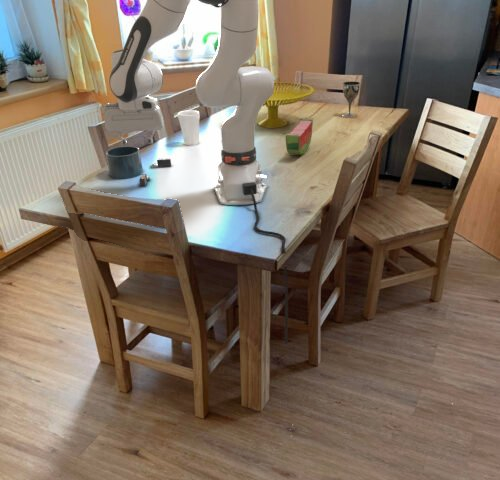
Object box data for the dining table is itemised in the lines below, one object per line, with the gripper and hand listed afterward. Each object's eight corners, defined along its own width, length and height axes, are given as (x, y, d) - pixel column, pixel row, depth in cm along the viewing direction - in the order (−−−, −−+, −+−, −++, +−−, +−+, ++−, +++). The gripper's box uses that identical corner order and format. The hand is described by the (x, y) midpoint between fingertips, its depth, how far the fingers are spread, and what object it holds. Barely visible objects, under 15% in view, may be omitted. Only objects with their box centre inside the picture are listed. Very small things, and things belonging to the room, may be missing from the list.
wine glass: (338, 115, 262) (340, 82, 253) (351, 112, 264) (353, 80, 255) (346, 118, 256) (349, 85, 247) (360, 116, 258) (363, 83, 250)
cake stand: (310, 135, 234) (311, 100, 225) (224, 135, 241) (221, 100, 232) (317, 113, 266) (318, 81, 257) (240, 113, 273) (239, 82, 264)
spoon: (147, 186, 190) (146, 178, 188) (138, 187, 190) (137, 179, 189) (150, 178, 197) (149, 171, 195) (141, 179, 197) (140, 171, 195)
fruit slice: (299, 141, 228) (300, 117, 222) (313, 142, 226) (314, 118, 220) (284, 160, 208) (284, 135, 202) (299, 161, 206) (300, 135, 200)
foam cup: (177, 145, 231) (173, 114, 223) (188, 139, 237) (185, 109, 229) (194, 147, 227) (191, 116, 219) (205, 141, 233) (203, 111, 226)
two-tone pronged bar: (171, 164, 209) (170, 157, 207) (170, 167, 207) (169, 159, 205) (151, 165, 209) (150, 158, 207) (150, 168, 207) (149, 160, 205)
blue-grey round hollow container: (140, 177, 198) (136, 155, 193) (106, 179, 198) (102, 157, 193) (145, 166, 208) (141, 145, 203) (113, 168, 208) (109, 146, 203)
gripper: (98, 105, 173) (106, 147, 182) (159, 103, 173) (164, 145, 182) (102, 101, 178) (110, 142, 187) (161, 98, 178) (166, 139, 187)
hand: (137, 143), depth 184 cm, fingers open, 8 cm apart
